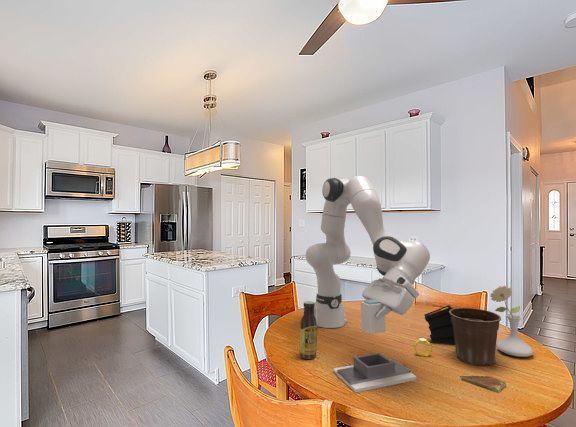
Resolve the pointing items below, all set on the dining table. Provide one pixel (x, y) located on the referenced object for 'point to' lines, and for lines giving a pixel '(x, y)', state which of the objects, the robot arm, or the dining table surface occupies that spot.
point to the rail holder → (373, 373)
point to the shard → (486, 382)
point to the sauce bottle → (308, 332)
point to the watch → (423, 342)
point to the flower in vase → (513, 341)
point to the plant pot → (475, 335)
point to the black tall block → (441, 326)
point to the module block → (371, 317)
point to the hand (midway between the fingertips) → (371, 315)
